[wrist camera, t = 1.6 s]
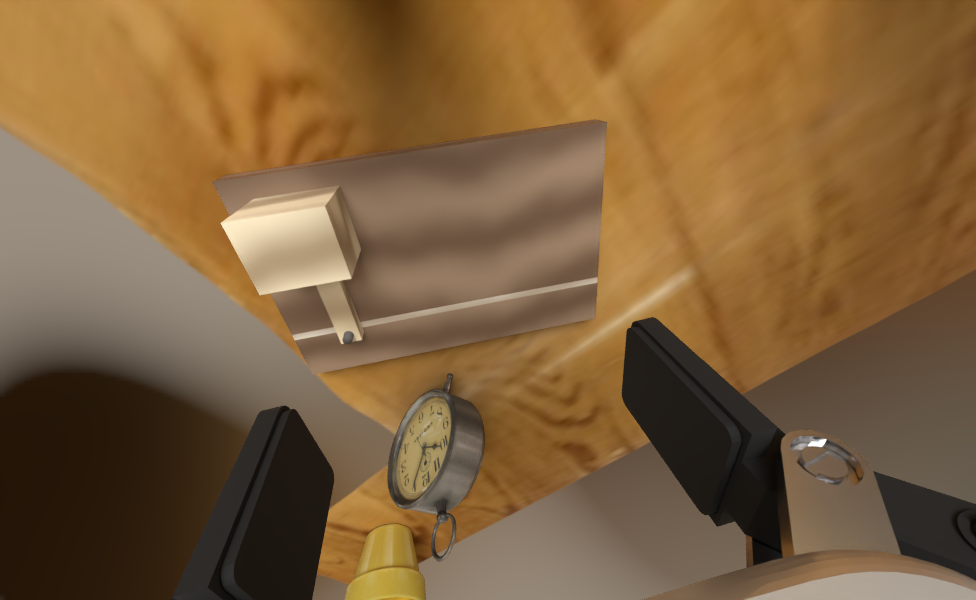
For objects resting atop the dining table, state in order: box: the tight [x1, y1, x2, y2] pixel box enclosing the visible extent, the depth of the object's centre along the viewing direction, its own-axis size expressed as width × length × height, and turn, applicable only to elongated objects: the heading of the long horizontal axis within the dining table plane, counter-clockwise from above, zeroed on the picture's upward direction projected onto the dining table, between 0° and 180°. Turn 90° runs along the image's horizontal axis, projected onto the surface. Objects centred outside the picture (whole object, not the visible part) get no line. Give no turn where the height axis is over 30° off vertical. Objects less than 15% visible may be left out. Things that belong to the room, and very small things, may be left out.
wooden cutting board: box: [213, 120, 607, 375], centre depth 31 cm, size 18×28×2 cm, turn 97°
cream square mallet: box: [221, 186, 364, 344], centre depth 27 cm, size 13×6×5 cm, turn 7°
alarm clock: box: [387, 374, 485, 562], centre depth 34 cm, size 11×5×16 cm, turn 139°
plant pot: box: [345, 524, 426, 600], centre depth 50 cm, size 10×10×10 cm
